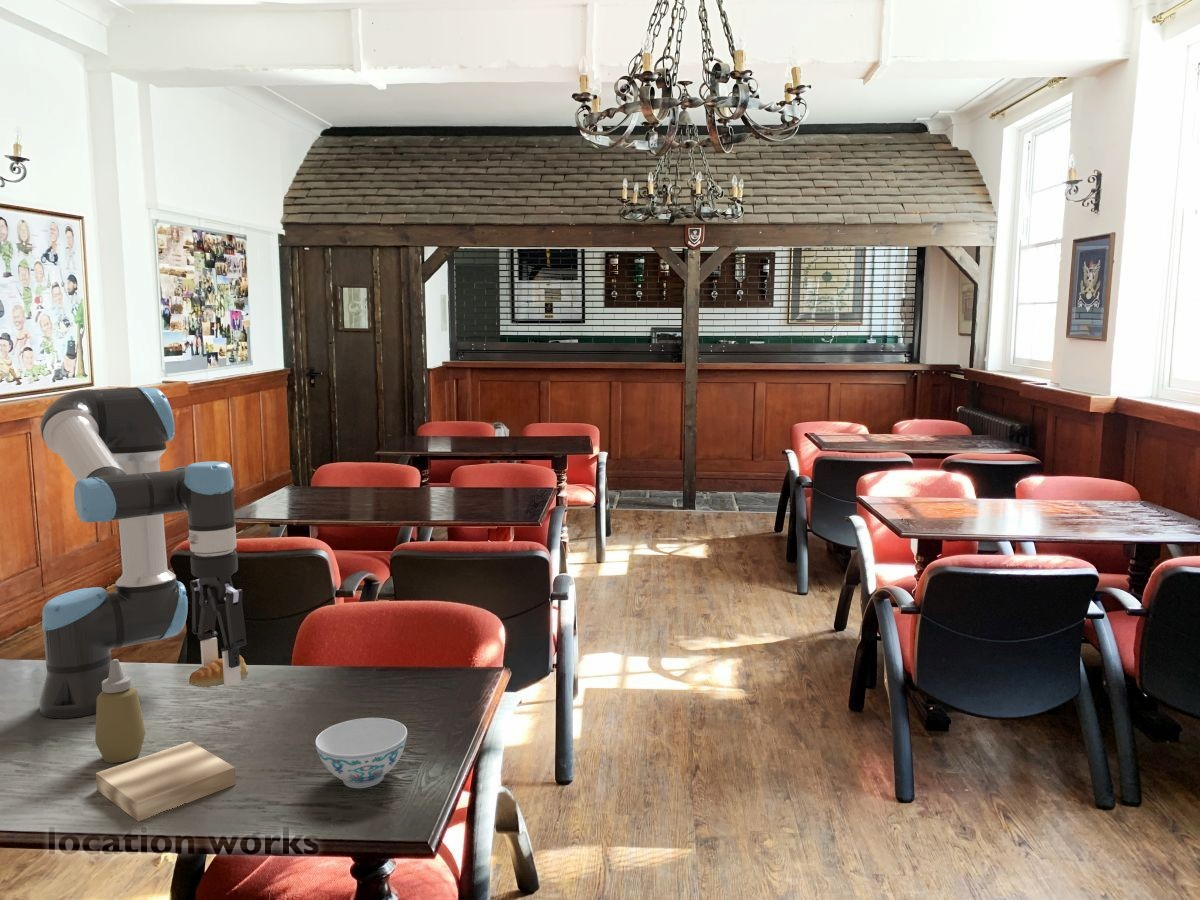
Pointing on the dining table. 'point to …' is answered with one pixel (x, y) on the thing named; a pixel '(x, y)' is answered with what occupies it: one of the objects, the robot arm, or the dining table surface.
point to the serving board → (165, 780)
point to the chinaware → (361, 749)
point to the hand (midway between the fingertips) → (221, 679)
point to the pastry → (214, 674)
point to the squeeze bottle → (118, 718)
